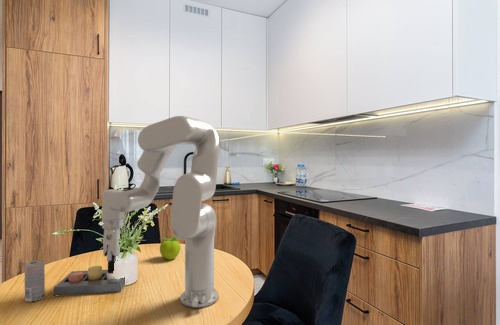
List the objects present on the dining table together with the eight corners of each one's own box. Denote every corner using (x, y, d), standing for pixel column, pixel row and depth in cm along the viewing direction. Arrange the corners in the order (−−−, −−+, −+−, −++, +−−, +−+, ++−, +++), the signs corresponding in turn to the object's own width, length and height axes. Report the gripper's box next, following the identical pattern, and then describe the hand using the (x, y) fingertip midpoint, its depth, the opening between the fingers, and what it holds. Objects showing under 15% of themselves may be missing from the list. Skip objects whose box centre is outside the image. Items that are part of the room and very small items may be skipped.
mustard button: (99, 281, 106) (99, 270, 106) (85, 282, 106) (85, 270, 106) (103, 276, 111) (103, 265, 111) (90, 276, 110) (90, 266, 110)
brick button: (80, 287, 105) (80, 276, 105) (66, 288, 105) (66, 277, 105) (85, 282, 110) (85, 271, 110) (72, 283, 109) (71, 272, 109)
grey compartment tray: (120, 291, 103) (120, 283, 103) (53, 296, 100) (53, 287, 100) (130, 275, 117) (130, 268, 117) (72, 279, 114) (72, 271, 114)
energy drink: (41, 293, 102) (41, 258, 101) (47, 298, 98) (46, 262, 98) (22, 299, 98) (22, 263, 97) (27, 304, 94) (27, 267, 94)
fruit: (159, 256, 140) (159, 235, 140) (179, 254, 143) (179, 234, 142) (159, 263, 131) (159, 240, 131) (181, 261, 134) (181, 239, 134)
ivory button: (118, 285, 107) (118, 274, 107) (105, 286, 107) (105, 275, 107) (122, 280, 112) (122, 269, 112) (109, 280, 111) (109, 270, 111)
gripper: (118, 227, 102) (118, 280, 103) (129, 218, 117) (128, 264, 117) (95, 228, 101) (94, 281, 101) (108, 218, 116) (108, 265, 116)
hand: (113, 272), depth 109 cm, fingers closed
